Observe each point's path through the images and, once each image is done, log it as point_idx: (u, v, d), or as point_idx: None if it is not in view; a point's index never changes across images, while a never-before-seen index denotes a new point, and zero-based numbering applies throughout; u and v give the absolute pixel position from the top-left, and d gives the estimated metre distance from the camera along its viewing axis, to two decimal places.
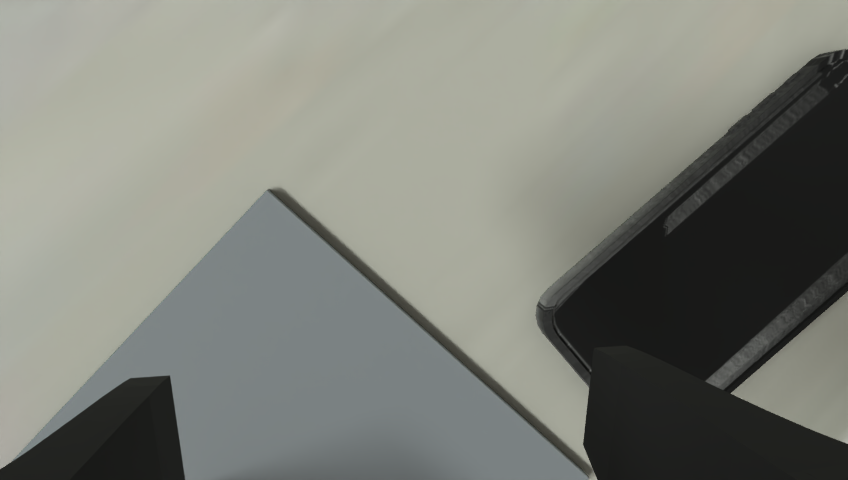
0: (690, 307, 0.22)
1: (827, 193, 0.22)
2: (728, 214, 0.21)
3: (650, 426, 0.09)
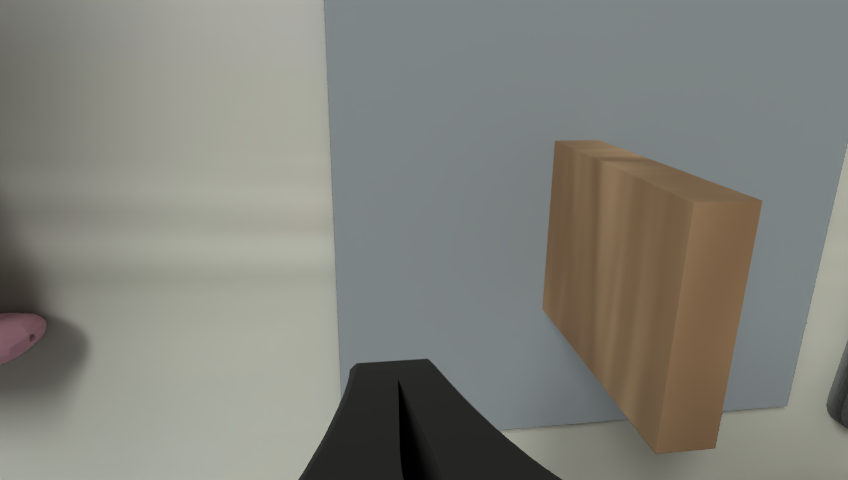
0: None
1: None
2: None
3: (410, 447, 0.08)
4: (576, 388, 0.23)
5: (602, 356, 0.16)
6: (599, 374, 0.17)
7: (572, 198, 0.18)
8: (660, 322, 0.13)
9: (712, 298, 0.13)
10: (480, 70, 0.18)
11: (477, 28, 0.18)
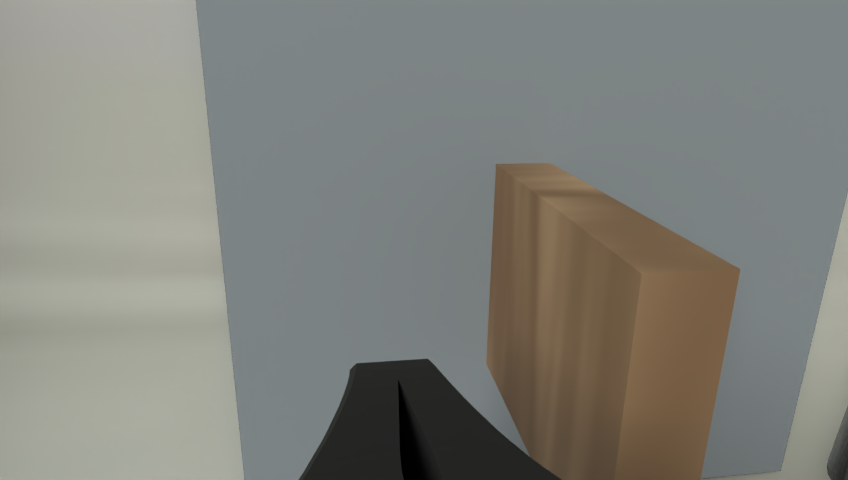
0: None
1: None
2: None
3: (410, 447, 0.08)
4: None
5: (542, 445, 0.13)
6: None
7: (512, 238, 0.14)
8: (603, 426, 0.10)
9: (671, 401, 0.09)
10: (399, 77, 0.15)
11: (393, 25, 0.14)
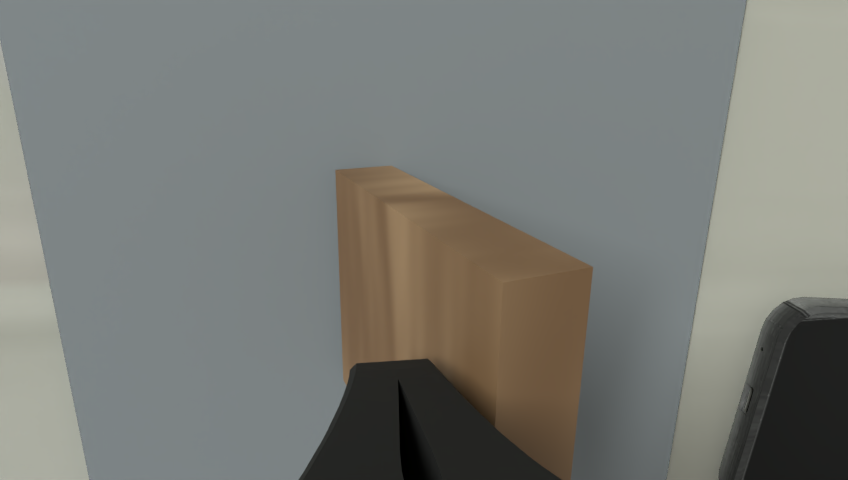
0: None
1: None
2: None
3: (410, 448, 0.08)
4: None
5: None
6: None
7: (361, 249, 0.14)
8: None
9: (539, 406, 0.09)
10: (220, 77, 0.14)
11: (209, 22, 0.14)
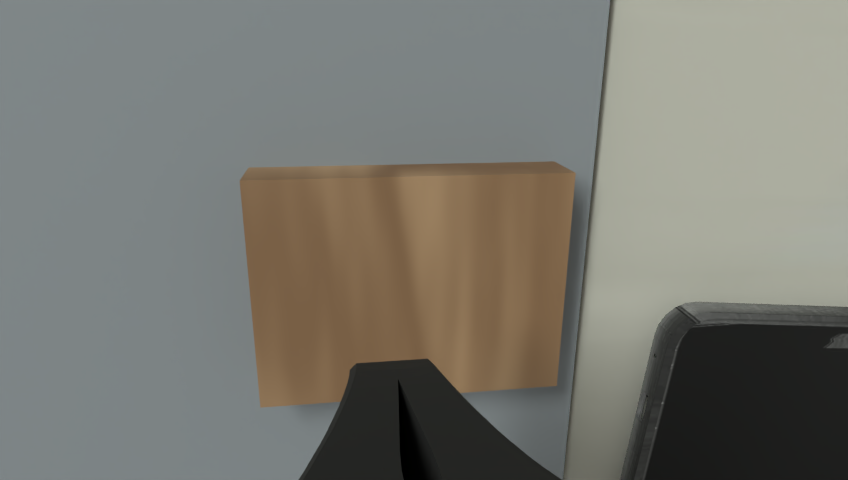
0: (775, 423, 0.20)
1: None
2: None
3: (410, 448, 0.08)
4: (274, 476, 0.18)
5: (447, 367, 0.16)
6: None
7: (326, 239, 0.14)
8: (546, 283, 0.15)
9: None
10: (52, 76, 0.14)
11: (35, 19, 0.13)
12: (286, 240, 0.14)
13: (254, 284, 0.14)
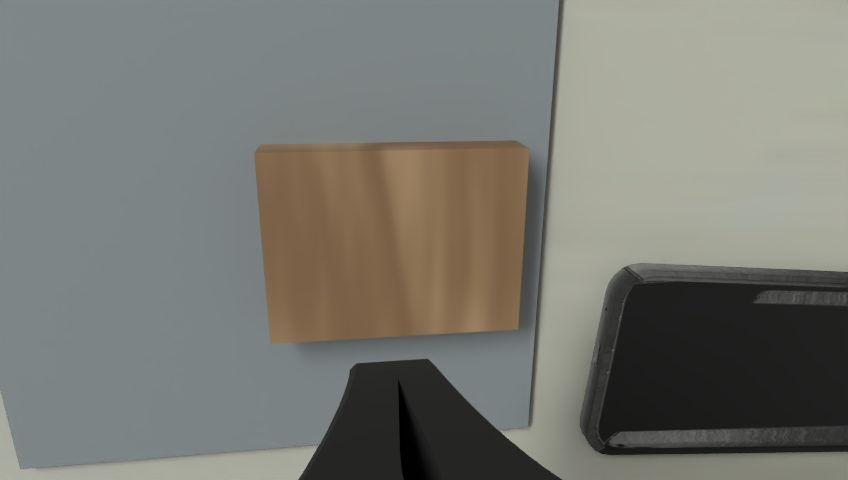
0: (713, 369, 0.23)
1: None
2: (798, 327, 0.23)
3: (410, 448, 0.08)
4: (281, 410, 0.21)
5: (425, 311, 0.19)
6: (423, 328, 0.19)
7: (324, 202, 0.17)
8: (507, 240, 0.19)
9: None
10: (102, 68, 0.17)
11: (89, 22, 0.16)
12: (291, 202, 0.17)
13: (265, 239, 0.17)
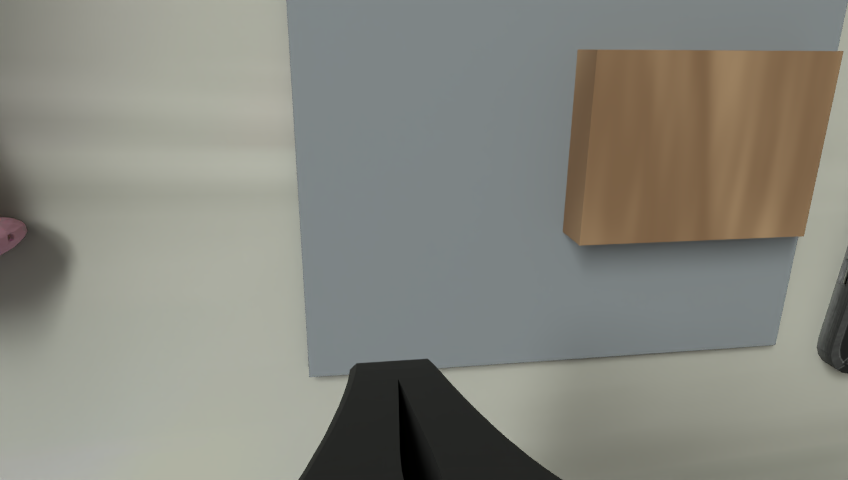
0: None
1: None
2: None
3: (410, 448, 0.08)
4: (554, 321, 0.22)
5: (724, 216, 0.20)
6: (718, 233, 0.20)
7: (652, 101, 0.18)
8: (808, 145, 0.19)
9: None
10: None
11: None
12: (622, 101, 0.18)
13: (593, 137, 0.18)
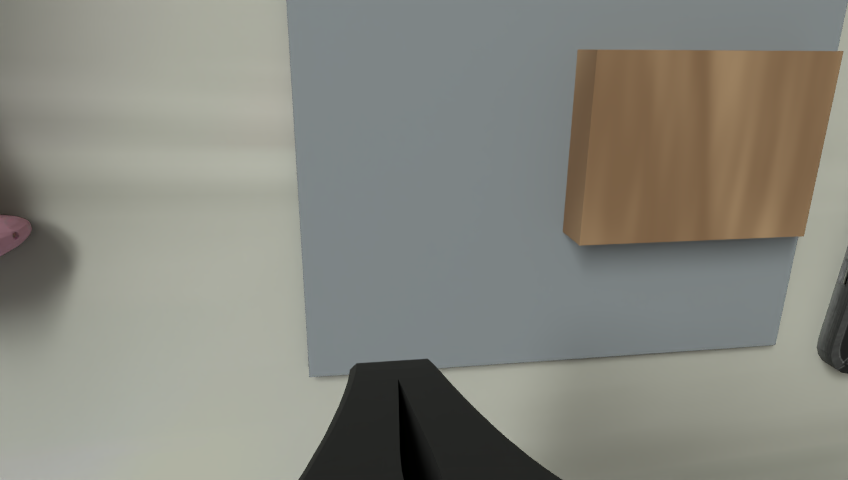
0: None
1: None
2: None
3: (410, 448, 0.08)
4: (554, 321, 0.22)
5: (724, 216, 0.20)
6: (718, 233, 0.20)
7: (652, 101, 0.18)
8: (808, 145, 0.19)
9: None
10: None
11: None
12: (622, 101, 0.18)
13: (593, 137, 0.18)
